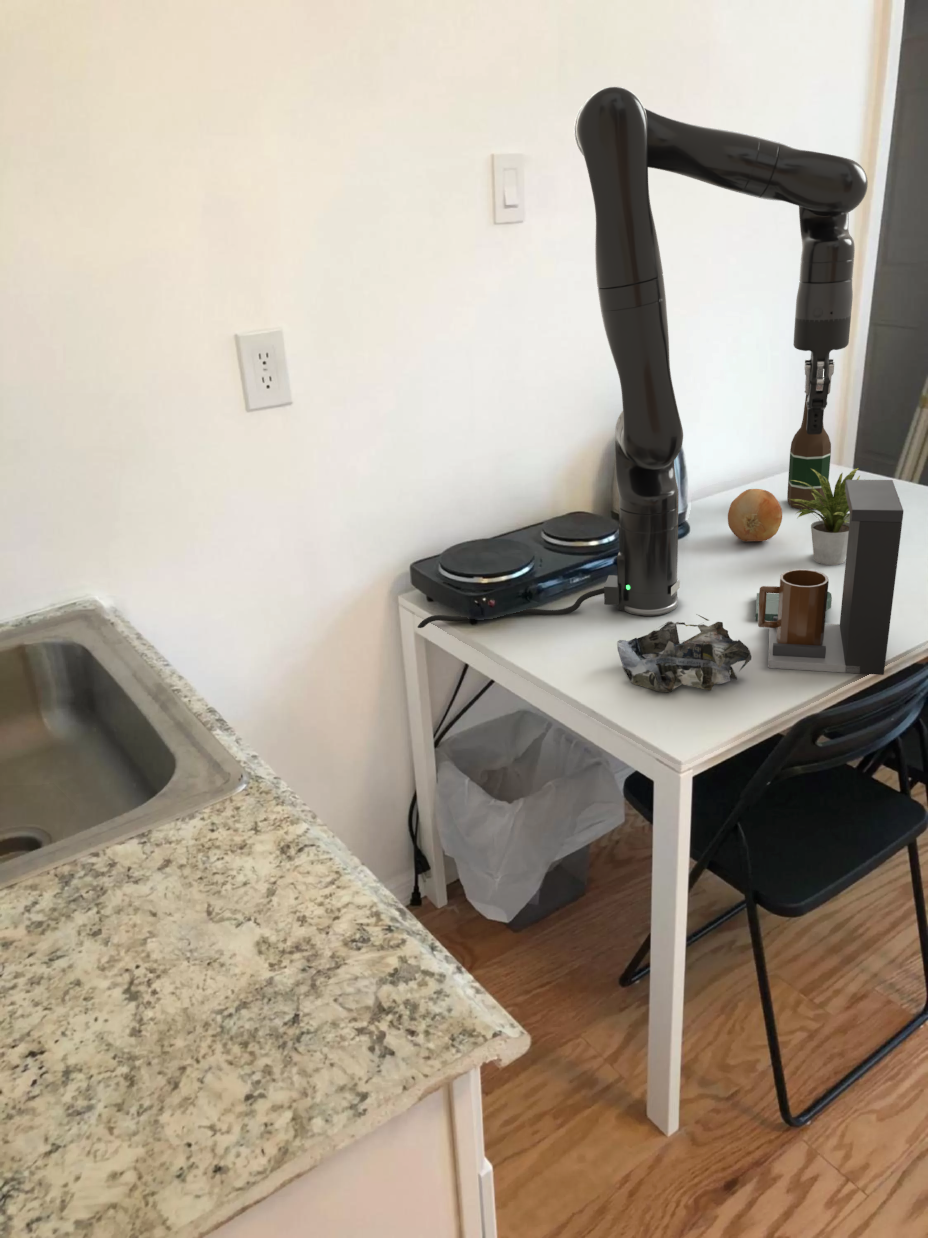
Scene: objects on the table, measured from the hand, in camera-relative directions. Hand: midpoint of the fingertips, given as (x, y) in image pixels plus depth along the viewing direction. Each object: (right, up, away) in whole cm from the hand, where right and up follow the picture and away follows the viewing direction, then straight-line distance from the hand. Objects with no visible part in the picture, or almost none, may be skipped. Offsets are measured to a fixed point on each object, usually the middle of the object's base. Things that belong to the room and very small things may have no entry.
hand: (814, 432), depth 141 cm
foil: (-23, -36, -9) cm, 44 cm away
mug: (-5, -31, -5) cm, 32 cm away
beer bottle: (+18, -5, +51) cm, 54 cm away
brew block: (-1, -27, +7) cm, 28 cm away
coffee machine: (-1, -33, -6) cm, 33 cm away
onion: (+2, -13, +35) cm, 38 cm away
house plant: (+12, -17, +25) cm, 33 cm away
